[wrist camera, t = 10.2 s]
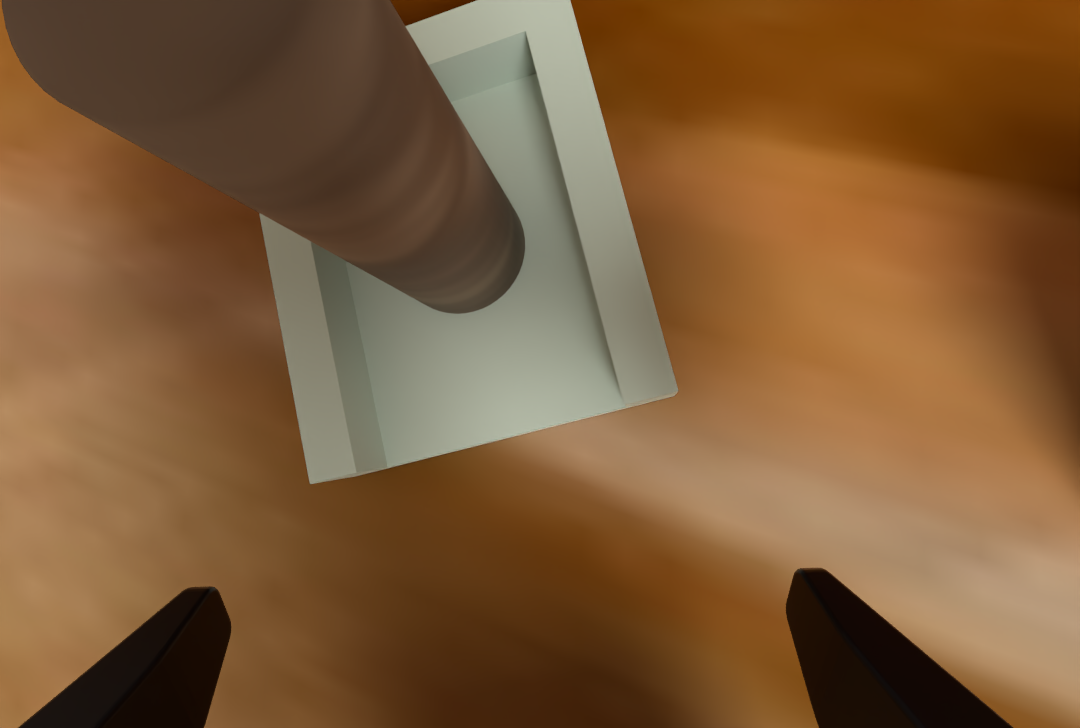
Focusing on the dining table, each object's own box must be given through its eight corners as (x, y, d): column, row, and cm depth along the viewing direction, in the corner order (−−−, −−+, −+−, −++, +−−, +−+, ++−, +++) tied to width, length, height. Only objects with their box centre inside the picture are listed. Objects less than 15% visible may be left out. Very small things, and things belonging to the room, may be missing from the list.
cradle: (674, 396, 19) (678, 391, 17) (357, 476, 21) (309, 484, 18) (573, 32, 21) (561, -31, 18) (288, 131, 23) (235, 87, 20)
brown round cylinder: (513, 322, 20) (276, 134, 7) (386, 304, 21) (-33, 107, 8) (535, 190, 20) (347, -218, 7) (409, 177, 21) (43, -211, 8)
